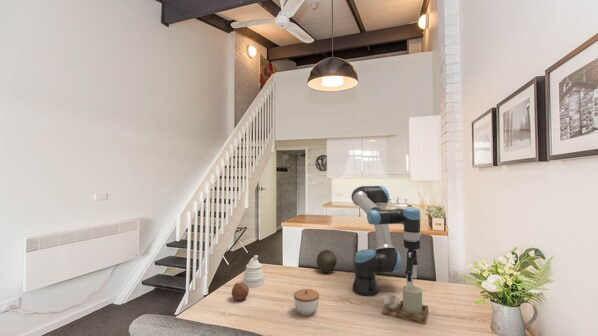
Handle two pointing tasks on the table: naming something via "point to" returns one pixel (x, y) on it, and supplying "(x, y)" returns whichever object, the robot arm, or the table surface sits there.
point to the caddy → (396, 310)
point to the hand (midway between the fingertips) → (411, 282)
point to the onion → (240, 291)
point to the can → (412, 300)
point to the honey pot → (254, 273)
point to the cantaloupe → (326, 260)
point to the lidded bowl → (306, 301)
